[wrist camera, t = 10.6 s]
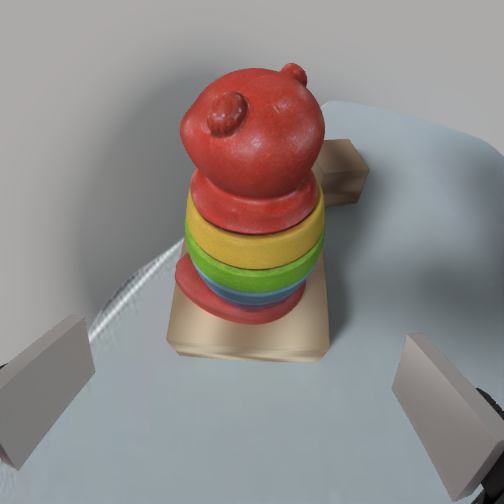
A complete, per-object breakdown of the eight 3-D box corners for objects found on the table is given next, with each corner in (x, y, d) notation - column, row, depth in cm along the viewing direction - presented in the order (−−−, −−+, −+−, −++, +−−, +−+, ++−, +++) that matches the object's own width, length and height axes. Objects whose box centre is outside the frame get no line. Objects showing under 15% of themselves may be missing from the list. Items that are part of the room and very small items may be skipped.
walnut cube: (339, 172, 42) (348, 138, 36) (356, 203, 38) (369, 169, 33) (300, 176, 41) (305, 141, 36) (315, 208, 38) (323, 173, 33)
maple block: (311, 246, 34) (319, 218, 30) (317, 361, 27) (329, 347, 23) (196, 241, 35) (189, 213, 30) (179, 355, 27) (166, 340, 23)
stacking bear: (253, 208, 31) (256, 31, 16) (333, 271, 27) (404, 87, 12) (166, 275, 26) (95, 90, 12) (247, 357, 23) (244, 189, 8)
